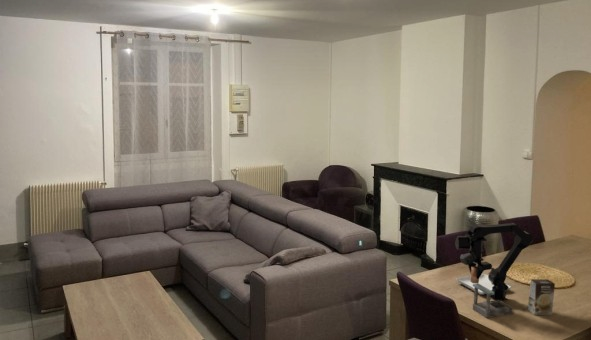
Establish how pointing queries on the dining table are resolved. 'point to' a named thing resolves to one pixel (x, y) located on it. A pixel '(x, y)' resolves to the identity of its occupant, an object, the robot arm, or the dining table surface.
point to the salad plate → (482, 281)
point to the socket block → (489, 304)
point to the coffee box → (541, 297)
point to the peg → (474, 275)
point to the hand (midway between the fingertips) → (475, 277)
